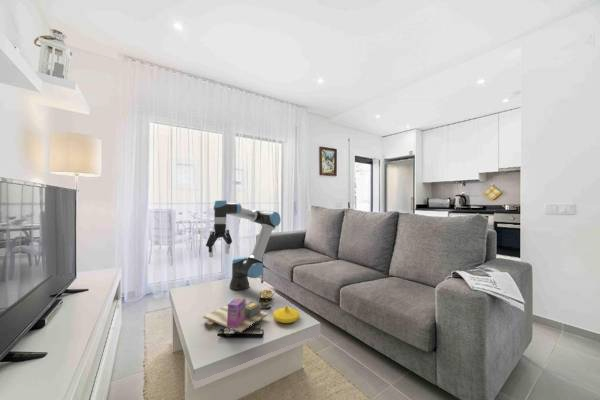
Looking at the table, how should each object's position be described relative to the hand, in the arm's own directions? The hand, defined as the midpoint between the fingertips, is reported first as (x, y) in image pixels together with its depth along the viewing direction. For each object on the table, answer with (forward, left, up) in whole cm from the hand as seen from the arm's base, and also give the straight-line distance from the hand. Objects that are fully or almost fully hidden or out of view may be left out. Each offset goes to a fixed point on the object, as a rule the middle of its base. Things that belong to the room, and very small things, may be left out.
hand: (219, 255), depth 162 cm
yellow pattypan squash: (-6, +50, -32) cm, 60 cm away
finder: (+6, +33, -28) cm, 44 cm away
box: (+18, +34, -28) cm, 48 cm away
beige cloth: (+13, +27, -32) cm, 43 cm away
